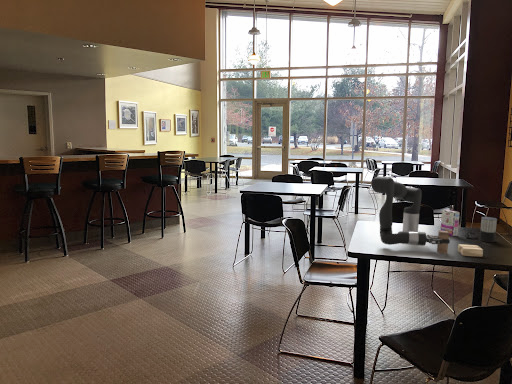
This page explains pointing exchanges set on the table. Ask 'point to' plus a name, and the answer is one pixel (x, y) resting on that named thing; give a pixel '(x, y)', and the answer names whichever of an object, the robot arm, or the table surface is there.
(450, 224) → the candy bar box
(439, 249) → the walnut block
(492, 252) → the table surface
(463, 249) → the pedestal
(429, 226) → the table surface
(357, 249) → the table surface
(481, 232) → the milk frother
